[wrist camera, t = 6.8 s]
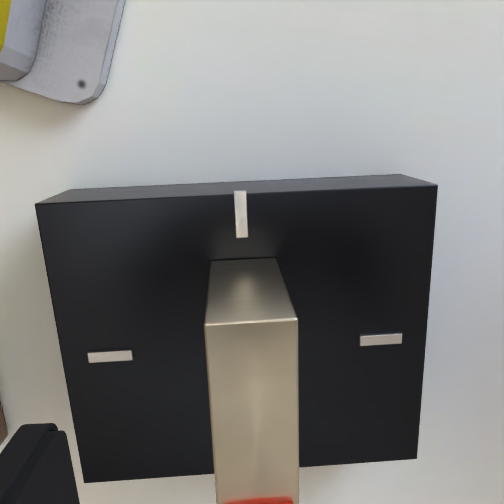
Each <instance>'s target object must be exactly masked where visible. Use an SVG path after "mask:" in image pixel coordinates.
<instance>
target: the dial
mask: <svg viewBox="0 0 504 504" xmlns="http://www.w3.org/2000/svg"><path fill="white" fill-rule="evenodd" d="M204 335H205V349H206V363H207V377H208V391H209V405H210V419H211V433H212V447H213V460H214V474H215V488H216V502H217V504H299V395H298V318H297V316H296V313H295V310H294V308H293V305H292V302H291V299H290V297H289V294H288V291H287V288H286V286H285V283H284V280H283V277H282V275H281V272H280V269H279V266H278V264H277V261H276V258H262V259H242V260H222V261H212V262H211V267H210V276H209V285H208V293H207V302H206V310H205V319H204Z"/></svg>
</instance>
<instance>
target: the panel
mask: <svg viewBox="0 0 504 504" xmlns="http://www.w3.org/2000/svg"><path fill="white" fill-rule="evenodd" d="M437 189H438V185H437V184H433V183H430V182H426V181H423V180H419V179H416V178H412V177H409V176H405V175H402V174H392V175H370V176H349V177H327V178H305V179H284V180H262V181H241V182H219V183H197V184H176V185H154V186H133V187H111V188H90V189H70V190H67V191H65V192H63V193H60V194H58V195H55V196H53V197H50V198H48V199H46V200H43V201H41V202H38V203H36V204H35V209H36V214H37V220H38V226H39V231H40V237H41V242H42V248H43V254H44V259H45V265H46V271H47V276H48V282H49V288H50V293H51V299H52V304H53V310H54V316H55V321H56V327H57V333H58V338H59V344H60V350H61V355H62V361H63V367H64V372H65V378H66V383H67V389H68V395H69V400H70V406H71V412H72V417H73V423H74V429H75V434H76V440H77V445H78V451H79V457H80V462H81V468H82V474H83V479H84V483H93V482H107V481H120V480H134V479H148V478H161V477H175V476H189V475H202V474H214V460H213V447H212V433H211V419H210V405H209V391H208V377H207V363H206V349H205V335H204V319H205V310H206V302H207V293H208V285H209V276H210V267H211V262H212V261H222V260H242V259H262V258H276V261H277V264H278V266H279V269H280V272H281V275H282V277H283V280H284V283H285V286H286V288H287V291H288V294H289V297H290V299H291V302H292V305H293V308H294V310H295V313H296V316H297V318H298V395H299V467H312V466H325V465H339V464H353V463H366V462H380V461H394V460H407V459H417V449H418V436H419V423H420V410H421V397H422V384H423V371H424V358H425V345H426V332H427V319H428V306H429V293H430V280H431V267H432V254H433V241H434V228H435V215H436V202H437Z"/></svg>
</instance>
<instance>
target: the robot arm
mask: <svg viewBox="0 0 504 504" xmlns="http://www.w3.org/2000/svg"><path fill="white" fill-rule="evenodd" d="M0 504H80V503H79V497H78V492H77V487H76V482H75V477H74V471H73V466H72V461H71V456H70V451H69V445H68V440H67V436H66V433H65V432H64V431H58V428H57V426H56V425H55V424H53V423H44V424H25V425H22V426H21V427H20V428H19V429H18V430H17V431H16V433H15V434H14V436H13V437H12V438H11V440H10V441H9V442H8V444H7V445H6V447H5V448H4V449H3V451H2V452H1V454H0Z"/></svg>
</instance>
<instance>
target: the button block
mask: <svg viewBox="0 0 504 504" xmlns="http://www.w3.org/2000/svg"><path fill="white" fill-rule="evenodd" d="M7 435H8V434H7V429H6V425H5V420H4V416H3V412H2V407H1V403H0V445H1V444H2V442H3V441H4V439H5V438H6V437H7Z"/></svg>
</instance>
